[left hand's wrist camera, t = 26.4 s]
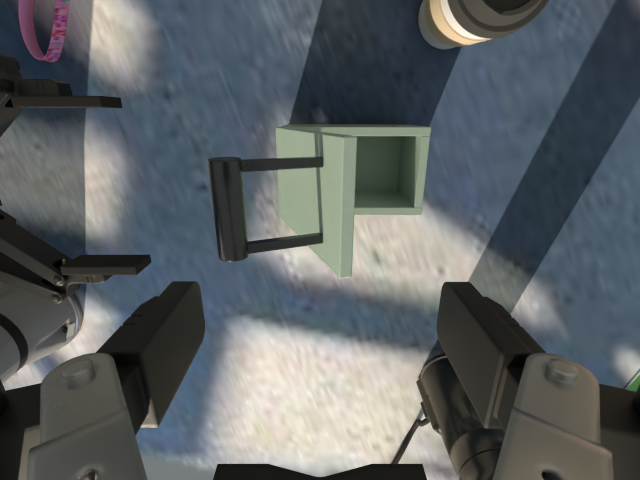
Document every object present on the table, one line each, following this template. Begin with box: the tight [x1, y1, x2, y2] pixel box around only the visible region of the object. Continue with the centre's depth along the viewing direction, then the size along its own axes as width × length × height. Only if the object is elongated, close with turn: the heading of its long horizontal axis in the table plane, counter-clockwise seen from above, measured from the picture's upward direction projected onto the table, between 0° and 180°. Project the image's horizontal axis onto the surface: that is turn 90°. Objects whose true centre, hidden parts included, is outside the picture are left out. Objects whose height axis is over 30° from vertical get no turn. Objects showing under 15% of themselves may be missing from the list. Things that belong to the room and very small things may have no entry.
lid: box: [208, 127, 357, 279], centre depth 28 cm, size 16×10×9 cm
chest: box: [282, 124, 431, 215], centre depth 41 cm, size 16×10×10 cm, turn 90°
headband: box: [18, 0, 69, 62], centre depth 39 cm, size 11×4×2 cm, turn 159°
